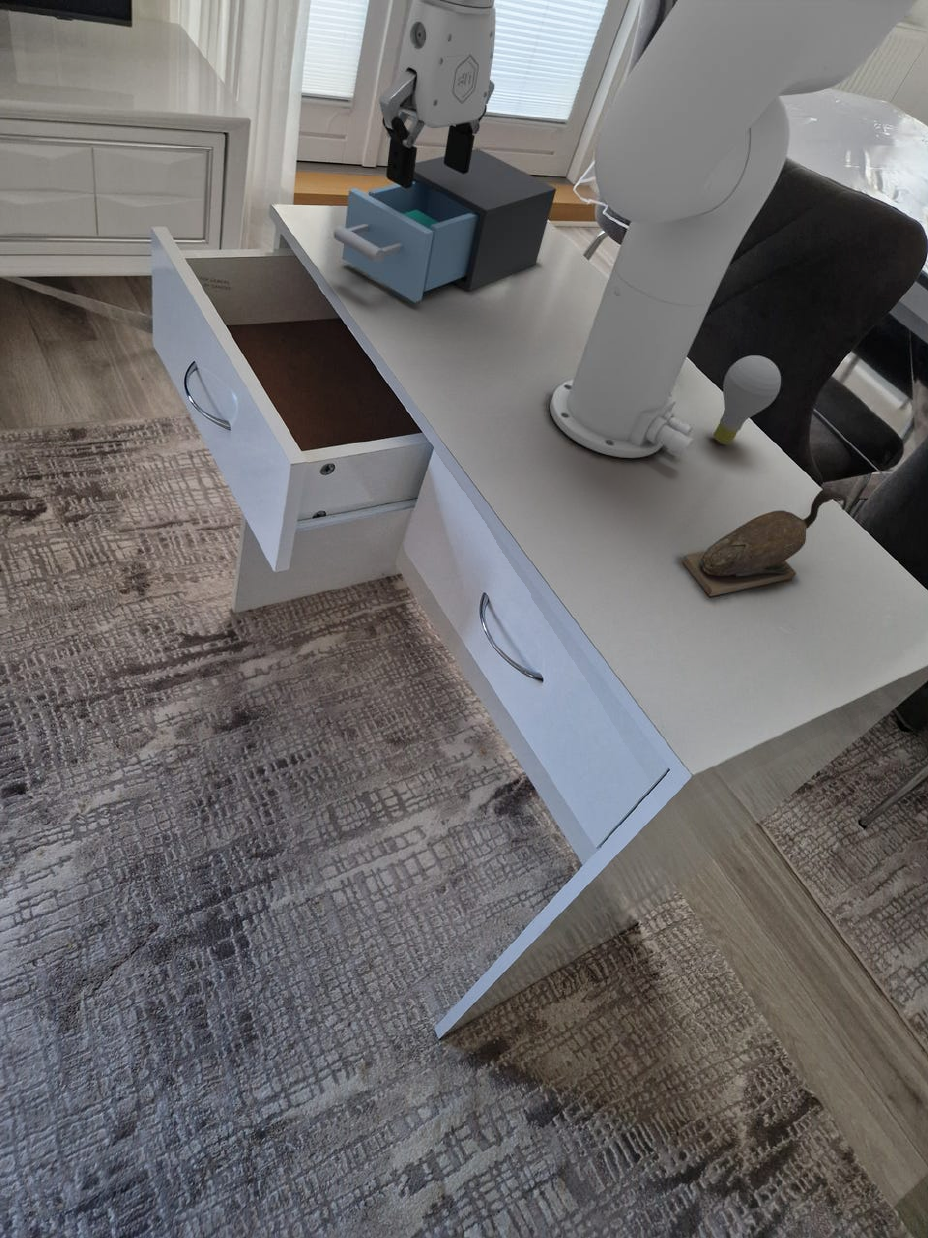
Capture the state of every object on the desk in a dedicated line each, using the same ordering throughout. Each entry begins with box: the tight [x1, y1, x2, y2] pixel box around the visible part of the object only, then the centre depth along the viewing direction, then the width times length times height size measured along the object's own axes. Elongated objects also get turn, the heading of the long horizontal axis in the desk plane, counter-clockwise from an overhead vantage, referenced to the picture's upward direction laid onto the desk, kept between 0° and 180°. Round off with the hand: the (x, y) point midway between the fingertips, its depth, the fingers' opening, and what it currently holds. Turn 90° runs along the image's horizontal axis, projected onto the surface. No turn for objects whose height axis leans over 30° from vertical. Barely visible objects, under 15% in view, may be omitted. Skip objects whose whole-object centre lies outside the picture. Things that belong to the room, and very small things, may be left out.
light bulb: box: [713, 354, 782, 445], centre depth 84 cm, size 5×6×10 cm
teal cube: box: [403, 210, 439, 229], centre depth 95 cm, size 4×4×4 cm
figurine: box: [682, 487, 848, 597], centre depth 71 cm, size 14×4×9 cm, turn 114°
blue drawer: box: [333, 179, 480, 303], centre depth 93 cm, size 18×11×8 cm, turn 141°
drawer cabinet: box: [413, 148, 557, 292], centre depth 101 cm, size 15×13×10 cm
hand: (428, 175), depth 89 cm, fingers open, 9 cm apart
